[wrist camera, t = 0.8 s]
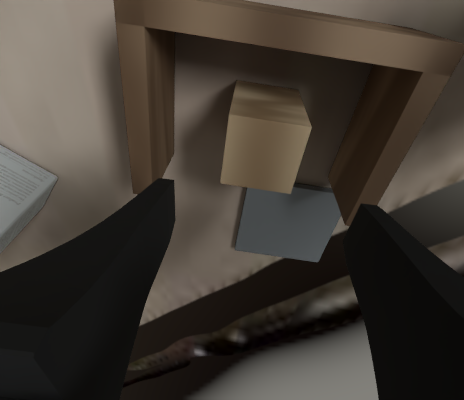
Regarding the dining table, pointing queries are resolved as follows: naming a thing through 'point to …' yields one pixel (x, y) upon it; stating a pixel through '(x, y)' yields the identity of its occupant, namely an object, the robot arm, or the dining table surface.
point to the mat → (288, 222)
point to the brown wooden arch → (295, 39)
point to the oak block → (265, 137)
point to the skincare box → (20, 193)
